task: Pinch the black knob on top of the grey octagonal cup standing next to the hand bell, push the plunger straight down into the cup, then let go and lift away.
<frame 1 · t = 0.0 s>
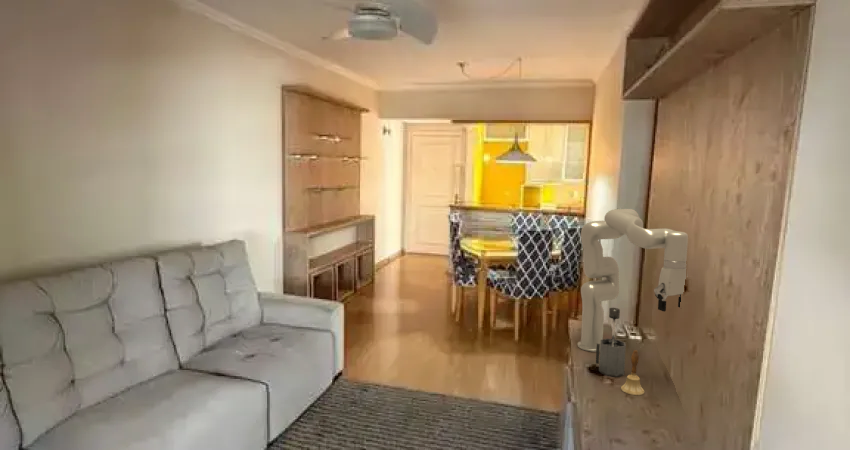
hand: (671, 309, 187), 31 cm above the table, tool pointing down, fingers open, 9 cm apart
hand bell: (632, 390, 189), on the table
plunger: (613, 328, 203), point 18 cm above the table, slide at 0.0 cm
grey octagonal cup: (611, 371, 205), on the table
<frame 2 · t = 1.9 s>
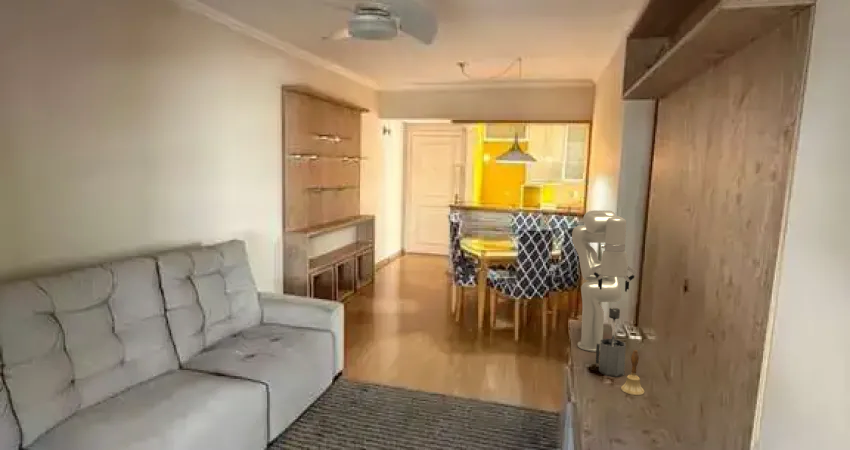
hand: (613, 289, 202), 35 cm above the table, tool pointing down, fingers open, 9 cm apart
nothing on the table moved.
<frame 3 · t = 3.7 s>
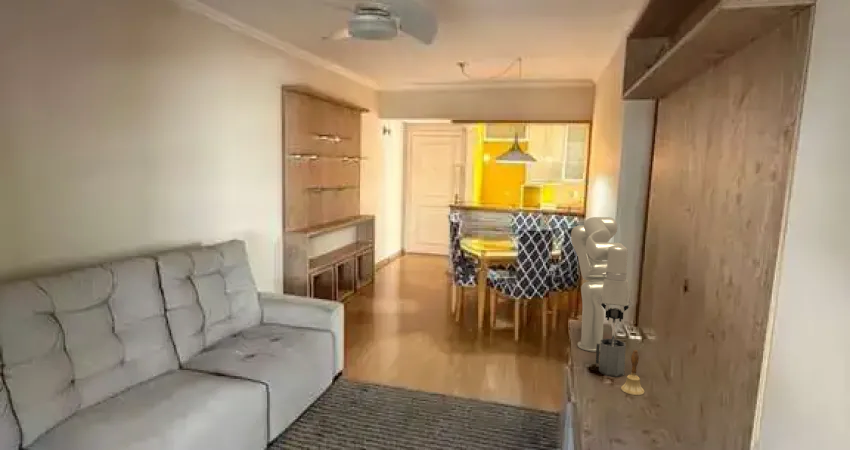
hand: (614, 319, 203), 22 cm above the table, tool pointing down, fingers closed on plunger, 4 cm apart
plunger: (613, 328, 203), point 18 cm above the table, slide at 0.0 cm, touching gripper
everything else where it was.
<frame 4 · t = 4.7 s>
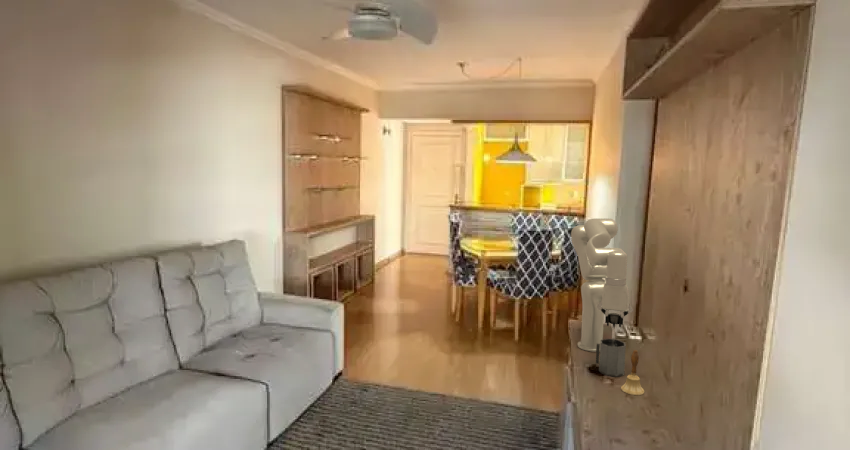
hand: (613, 325, 203), 20 cm above the table, tool pointing down, fingers closed on plunger, 4 cm apart
plunger: (613, 334, 203), point 16 cm above the table, slide at 2.3 cm, touching gripper
everything else where it was.
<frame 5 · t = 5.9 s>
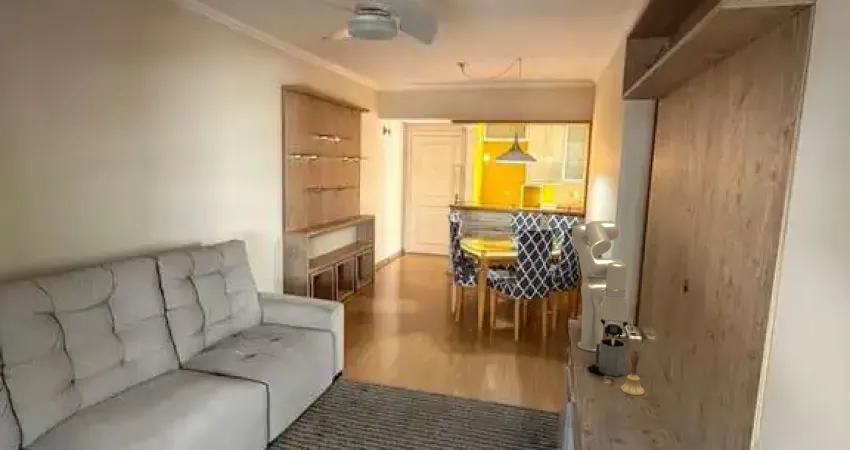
hand: (613, 335, 204), 15 cm above the table, tool pointing down, fingers closed on plunger, 4 cm apart
plunger: (612, 344, 204), point 12 cm above the table, slide at 6.8 cm, touching gripper
everything else where it was.
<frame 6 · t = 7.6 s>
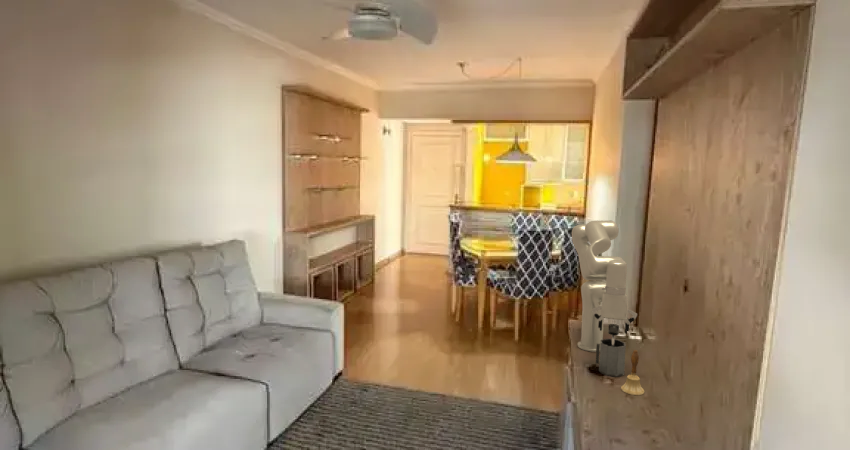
hand: (613, 331, 204), 17 cm above the table, tool pointing down, fingers open, 9 cm apart
plunger: (612, 344, 204), point 12 cm above the table, slide at 6.8 cm
everything else where it was.
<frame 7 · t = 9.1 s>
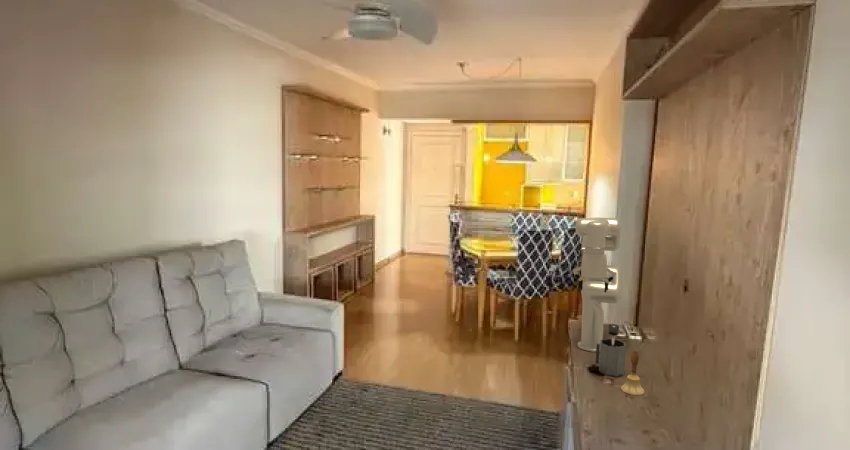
hand: (593, 290, 210), 32 cm above the table, tool pointing down, fingers open, 9 cm apart
nothing on the table moved.
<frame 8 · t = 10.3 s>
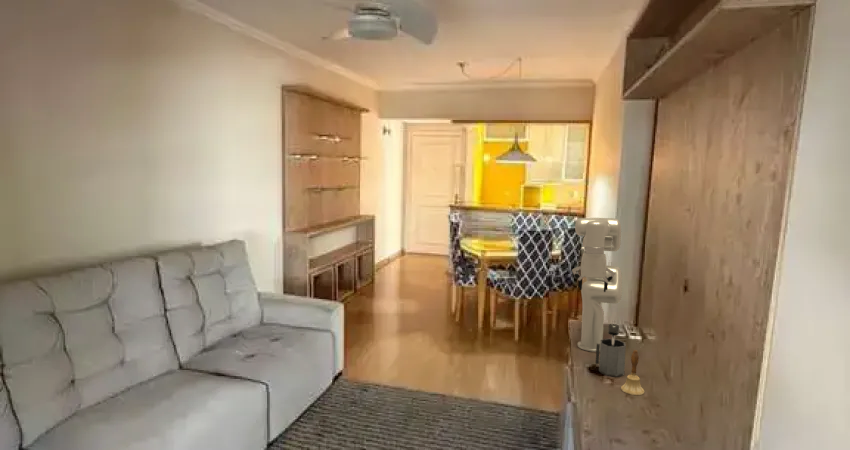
hand: (592, 290, 210), 32 cm above the table, tool pointing down, fingers open, 9 cm apart
nothing on the table moved.
at the end: plunger slide at 6.8 cm; the gripper is holding nothing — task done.
